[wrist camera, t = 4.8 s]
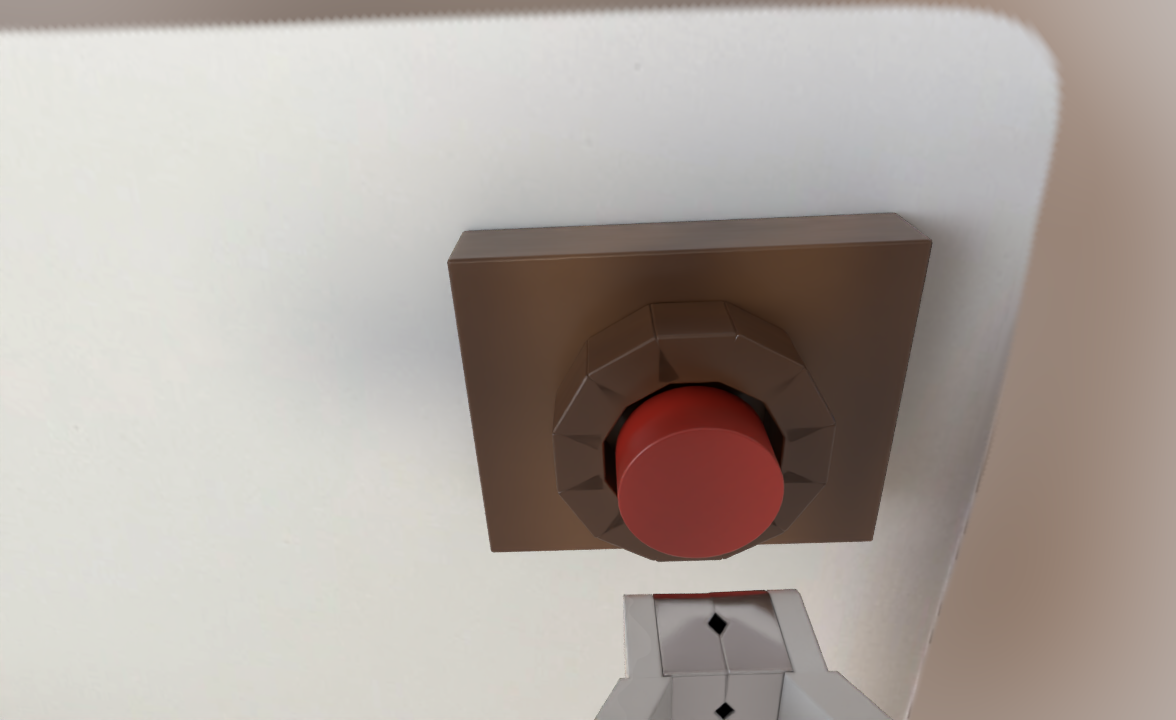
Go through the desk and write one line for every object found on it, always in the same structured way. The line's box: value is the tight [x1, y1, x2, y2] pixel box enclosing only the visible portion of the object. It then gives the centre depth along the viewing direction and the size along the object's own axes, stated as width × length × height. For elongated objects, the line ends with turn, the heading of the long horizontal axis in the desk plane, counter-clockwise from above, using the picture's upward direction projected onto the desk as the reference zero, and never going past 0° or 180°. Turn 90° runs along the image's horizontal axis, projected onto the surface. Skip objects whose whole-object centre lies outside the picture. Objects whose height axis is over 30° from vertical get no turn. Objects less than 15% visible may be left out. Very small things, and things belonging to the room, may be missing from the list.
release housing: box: [447, 213, 932, 562], centre depth 18 cm, size 11×9×4 cm
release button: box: [615, 386, 784, 558], centre depth 16 cm, size 4×4×2 cm
